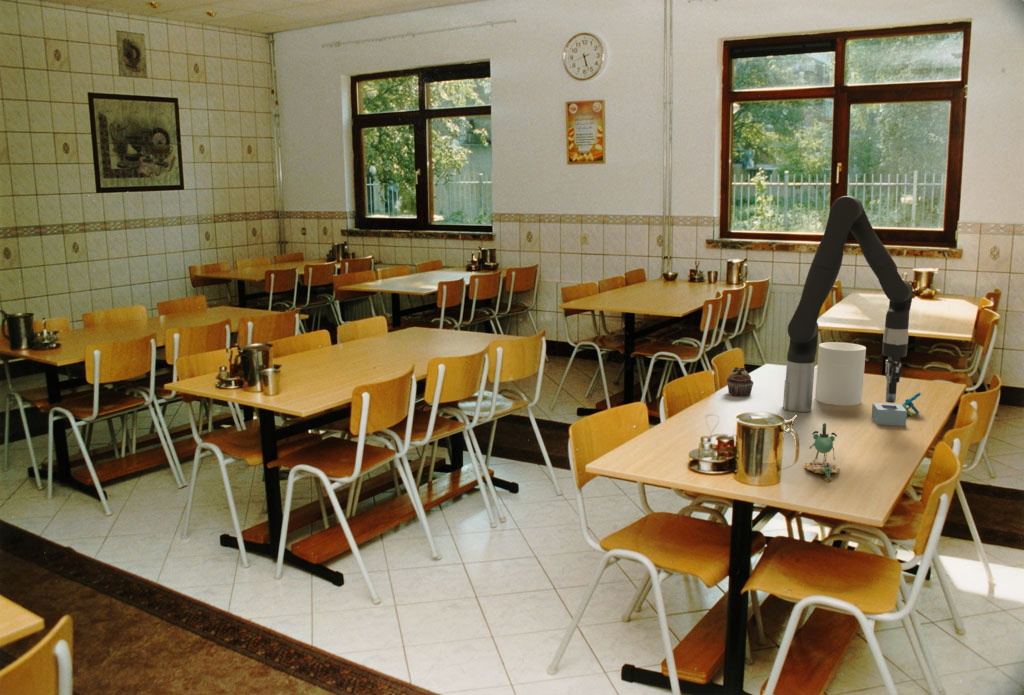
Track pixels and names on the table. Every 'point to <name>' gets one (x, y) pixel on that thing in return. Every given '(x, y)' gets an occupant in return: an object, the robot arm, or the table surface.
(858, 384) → the canister
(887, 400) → the pin
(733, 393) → the cupcake
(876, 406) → the socket block
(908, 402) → the teal lobed toy
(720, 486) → the table surface
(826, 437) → the frog figurine
